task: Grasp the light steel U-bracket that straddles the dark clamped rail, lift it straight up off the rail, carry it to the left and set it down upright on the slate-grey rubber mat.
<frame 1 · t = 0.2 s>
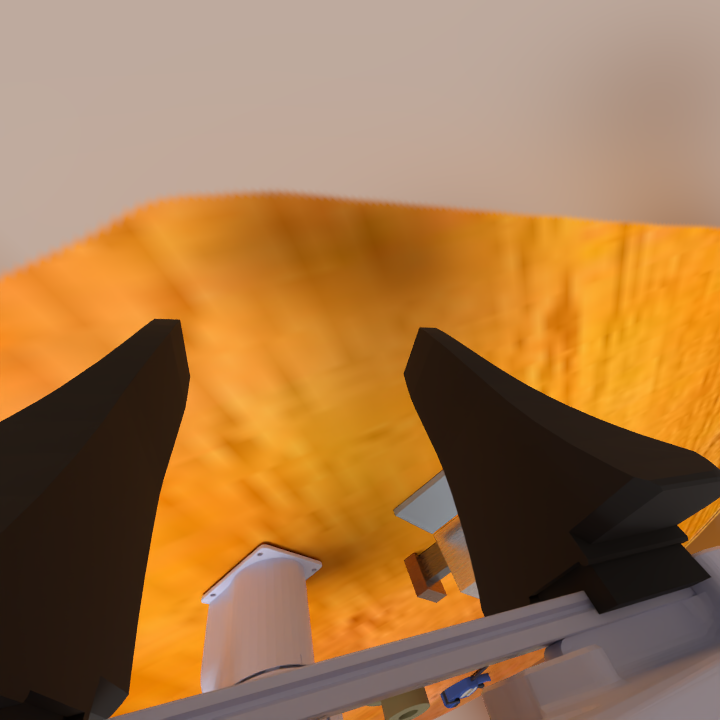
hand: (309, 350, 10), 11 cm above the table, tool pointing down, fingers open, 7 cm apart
bracket: (456, 530, 39), resting in rail
rail: (457, 531, 39), on the table
bar clamp: (489, 657, 71), on the table
mat: (436, 500, 35), on the table
flange: (398, 679, 63), on the table
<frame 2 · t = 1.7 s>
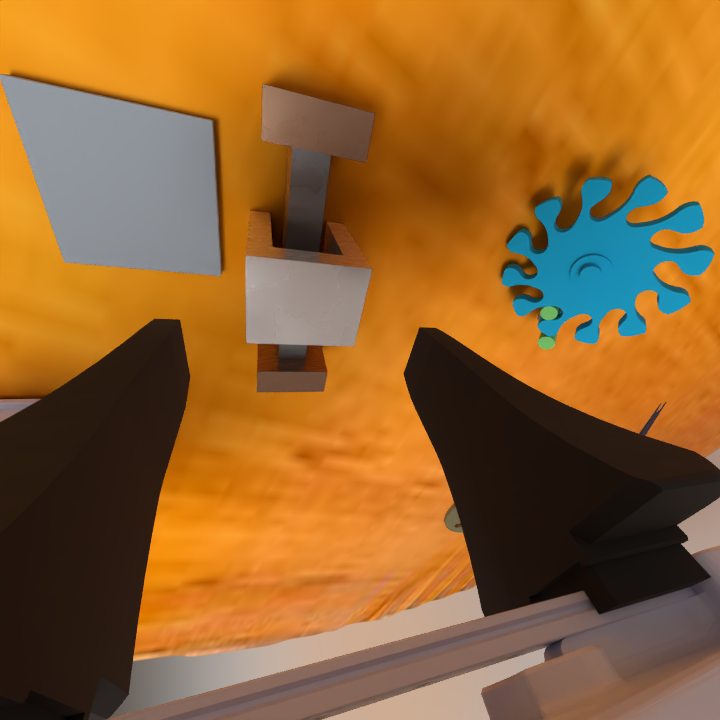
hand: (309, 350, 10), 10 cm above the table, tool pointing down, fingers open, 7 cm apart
bracket: (295, 253, 19), resting in rail
rail: (295, 253, 19), on the table
blue lobed piece: (544, 252, 23), on the table
mat: (137, 193, 15), on the table
flange: (488, 500, 49), on the table
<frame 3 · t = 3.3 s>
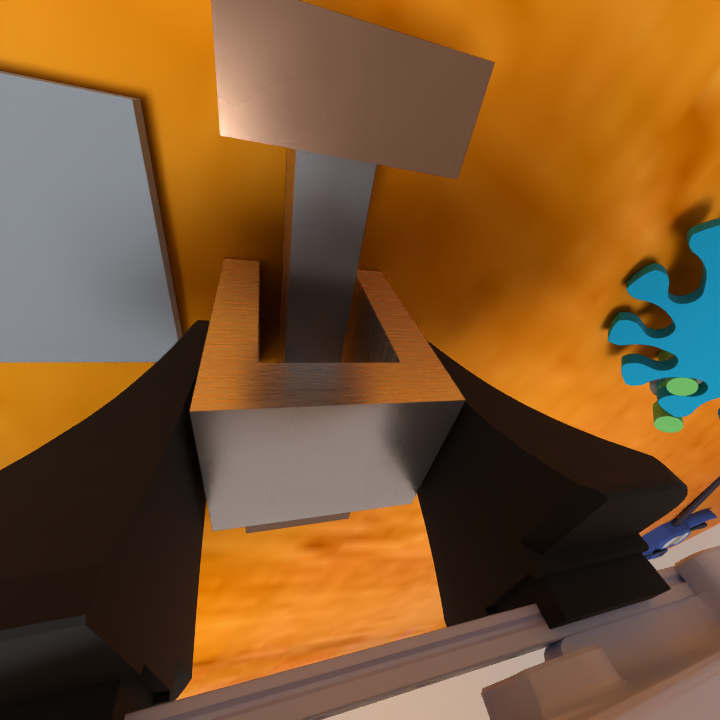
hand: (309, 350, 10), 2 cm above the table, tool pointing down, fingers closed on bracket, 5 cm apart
bracket: (303, 318, 12), resting in rail, touching gripper
rail: (303, 318, 12), on the table
blue lobed piece: (666, 293, 16), on the table
bar clamp: (696, 492, 41), on the table
mat: (12, 240, 8), on the table
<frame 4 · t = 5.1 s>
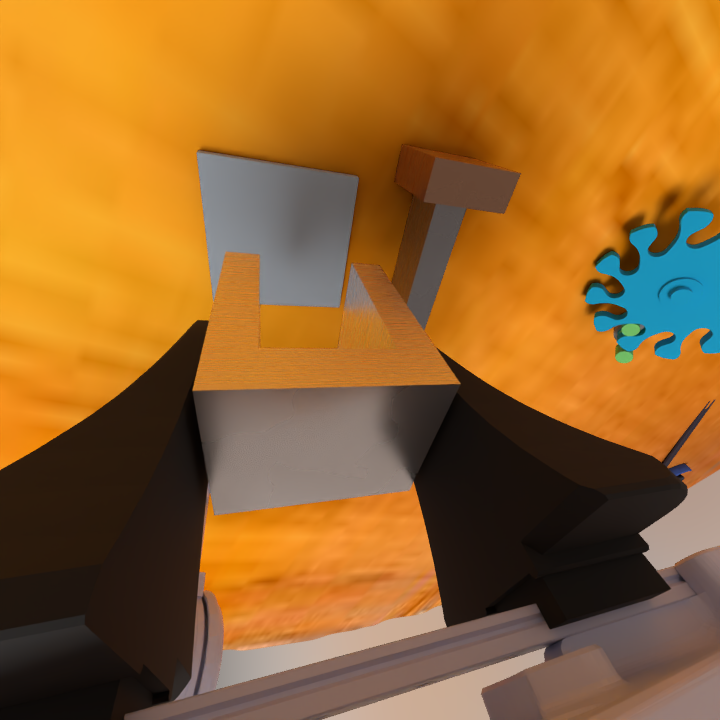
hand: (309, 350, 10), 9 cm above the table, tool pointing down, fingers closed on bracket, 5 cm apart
bracket: (303, 311, 12), point 7 cm above the table, touching gripper
rail: (403, 284, 20), on the table
blue lobed piece: (623, 272, 24), on the table
bar clamp: (671, 447, 50), on the table
mat: (280, 240, 17), on the table
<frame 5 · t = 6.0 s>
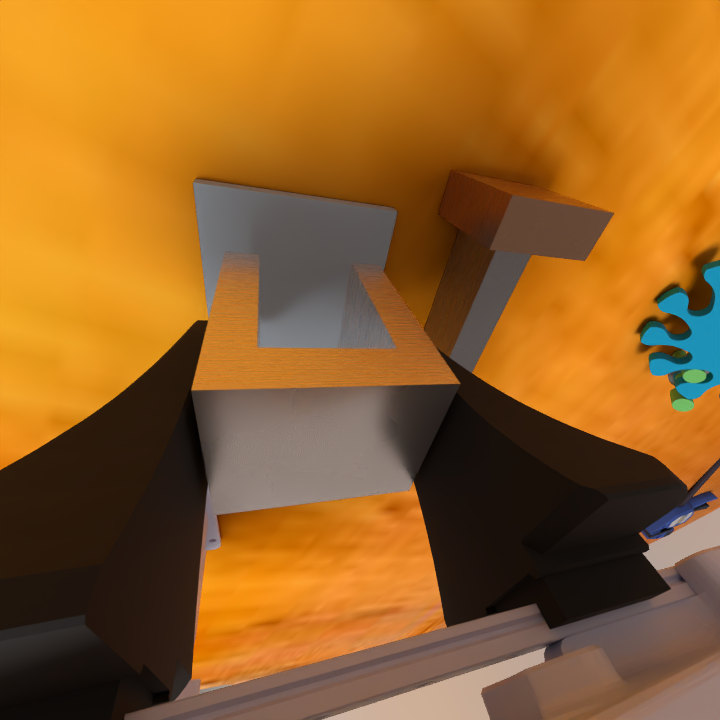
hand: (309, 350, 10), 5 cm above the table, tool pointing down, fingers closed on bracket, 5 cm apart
bracket: (302, 311, 12), point 3 cm above the table, touching gripper
rail: (438, 328, 17), on the table
blue lobed piece: (683, 308, 21), on the table
bar clamp: (698, 476, 47), on the table
mat: (296, 283, 14), on the table
when the fingers open (4 cm above the table, at t = 6.8 s): bracket stays where it is, resting on mat.
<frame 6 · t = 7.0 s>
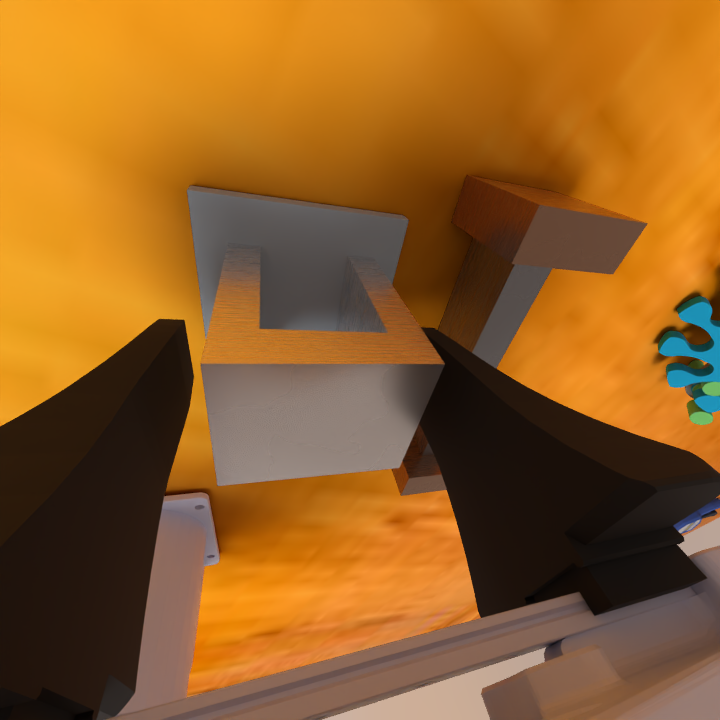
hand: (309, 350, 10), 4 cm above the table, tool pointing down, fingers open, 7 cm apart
bracket: (301, 302, 12), point 1 cm above the table, touching mat
rail: (448, 340, 16), on the table
blue lobed piece: (702, 317, 20), on the table
bar clamp: (706, 483, 46), on the table
mat: (299, 296, 13), on the table
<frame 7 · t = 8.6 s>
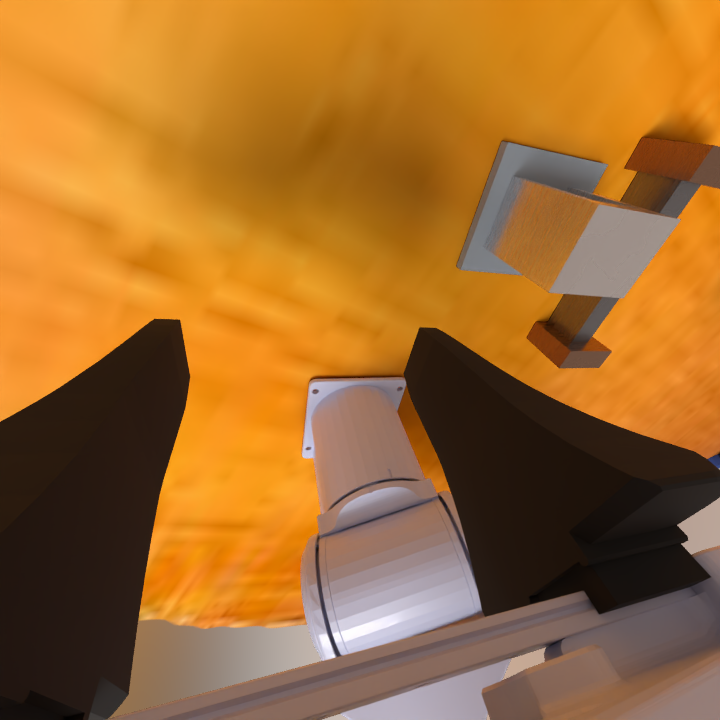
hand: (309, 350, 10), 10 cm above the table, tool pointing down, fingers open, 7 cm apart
bracket: (530, 219, 20), point 1 cm above the table, touching mat
rail: (595, 258, 24), on the table
mat: (524, 217, 20), on the table
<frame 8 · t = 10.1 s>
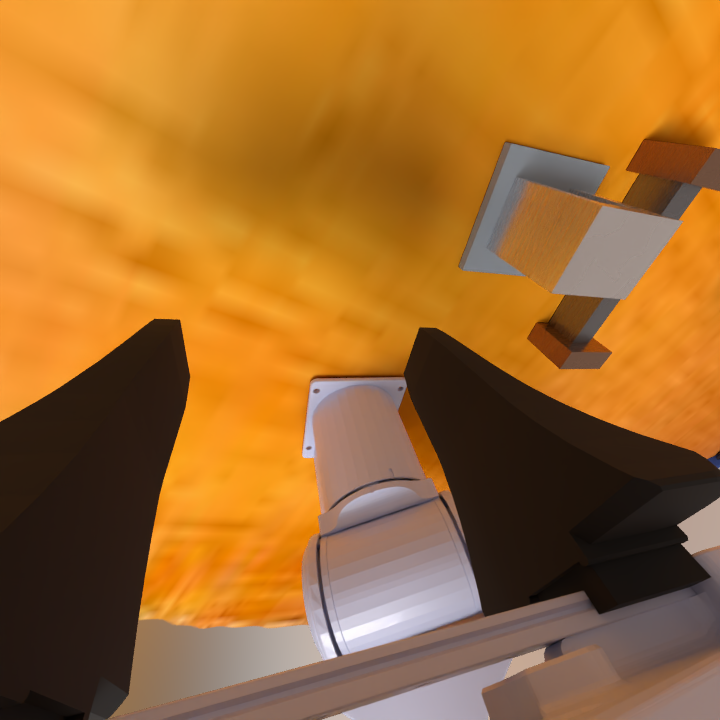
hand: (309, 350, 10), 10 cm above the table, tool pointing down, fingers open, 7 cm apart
bracket: (533, 220, 20), point 1 cm above the table, touching mat
rail: (596, 259, 24), on the table
mat: (526, 218, 20), on the table
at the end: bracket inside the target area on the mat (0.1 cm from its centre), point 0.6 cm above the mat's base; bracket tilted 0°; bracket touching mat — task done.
